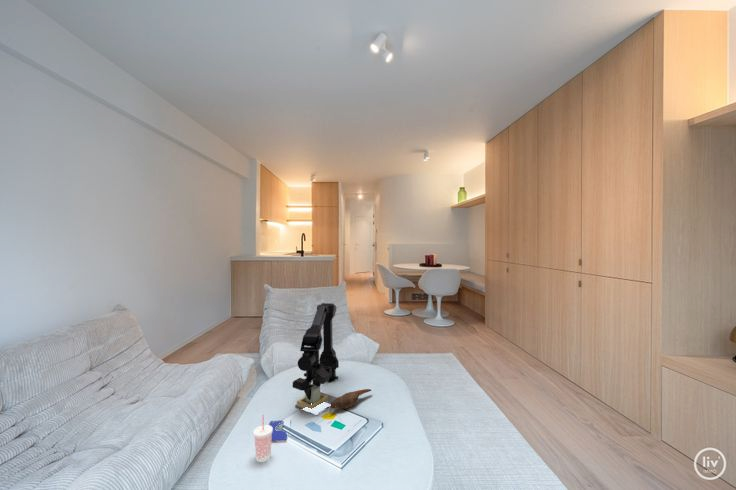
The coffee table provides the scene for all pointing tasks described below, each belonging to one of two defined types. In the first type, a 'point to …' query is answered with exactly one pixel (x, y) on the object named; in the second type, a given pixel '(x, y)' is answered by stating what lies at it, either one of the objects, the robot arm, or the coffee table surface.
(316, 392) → the block
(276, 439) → the hard drive
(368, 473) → the coffee table surface
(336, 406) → the bird sculpture
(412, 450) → the coffee table surface
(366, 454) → the coffee table surface
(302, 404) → the socket dock
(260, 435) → the beverage cup
